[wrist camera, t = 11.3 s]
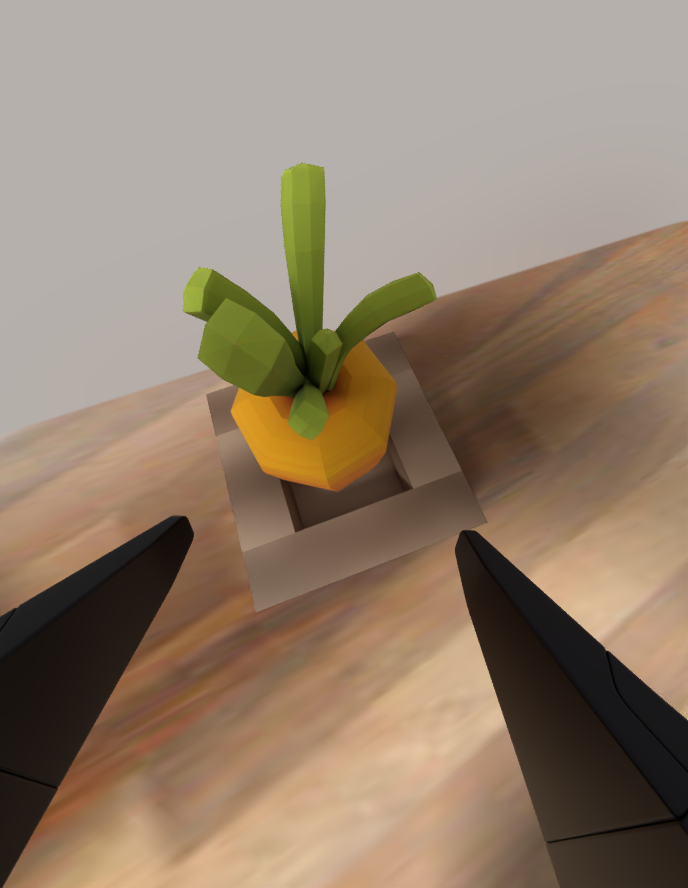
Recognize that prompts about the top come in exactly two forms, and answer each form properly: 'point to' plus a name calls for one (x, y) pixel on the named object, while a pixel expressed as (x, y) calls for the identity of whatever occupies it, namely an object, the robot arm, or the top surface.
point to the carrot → (304, 355)
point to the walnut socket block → (345, 498)
